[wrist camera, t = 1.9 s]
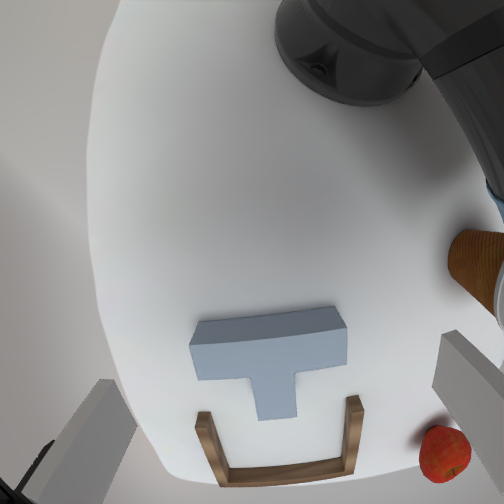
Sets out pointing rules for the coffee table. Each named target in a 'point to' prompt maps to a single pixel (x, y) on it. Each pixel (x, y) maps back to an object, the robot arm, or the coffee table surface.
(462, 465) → the apple
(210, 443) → the walnut fence
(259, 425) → the coffee table surface
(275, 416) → the t block
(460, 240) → the disposable coffee cup
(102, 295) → the coffee table surface
